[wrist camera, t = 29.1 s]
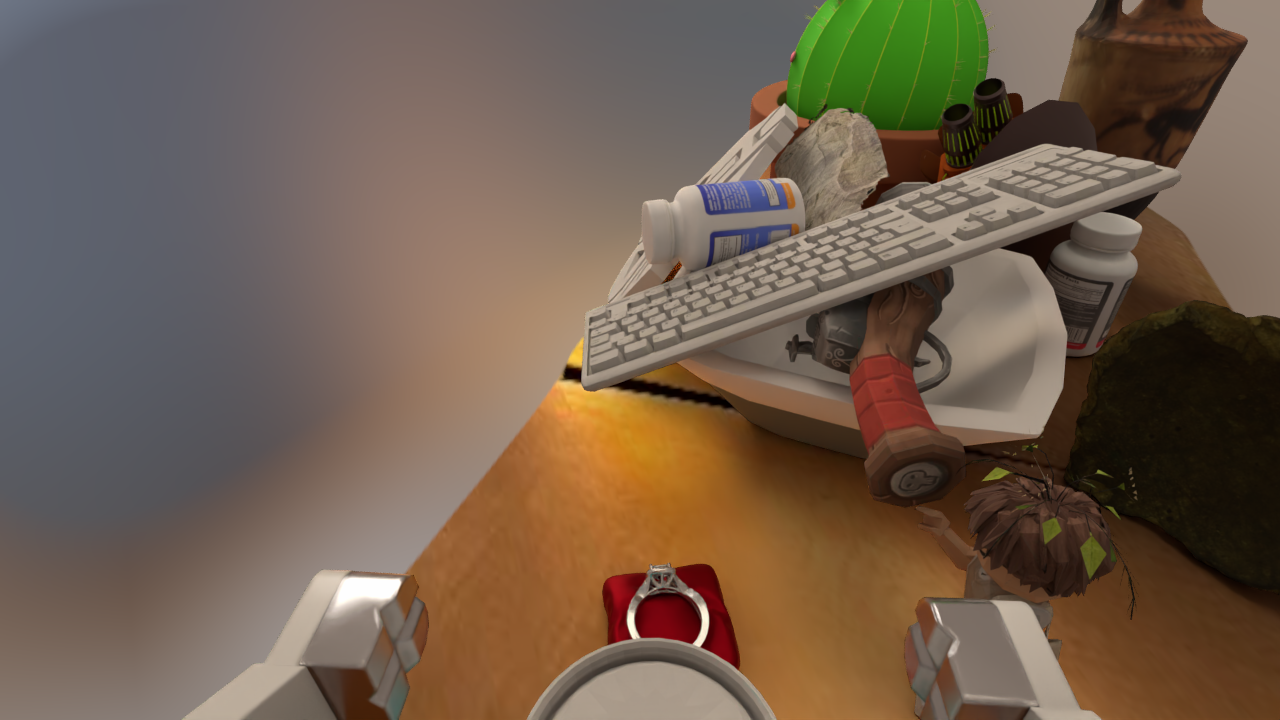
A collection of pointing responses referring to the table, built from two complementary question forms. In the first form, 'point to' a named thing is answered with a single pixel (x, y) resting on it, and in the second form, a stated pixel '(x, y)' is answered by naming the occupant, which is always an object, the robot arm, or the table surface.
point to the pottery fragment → (1191, 434)
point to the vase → (1148, 79)
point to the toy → (1028, 543)
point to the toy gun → (892, 380)
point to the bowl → (960, 406)
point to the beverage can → (651, 686)
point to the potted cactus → (885, 74)
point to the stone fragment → (834, 165)
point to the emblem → (734, 166)
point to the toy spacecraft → (1007, 144)
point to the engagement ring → (671, 608)
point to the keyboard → (859, 256)
